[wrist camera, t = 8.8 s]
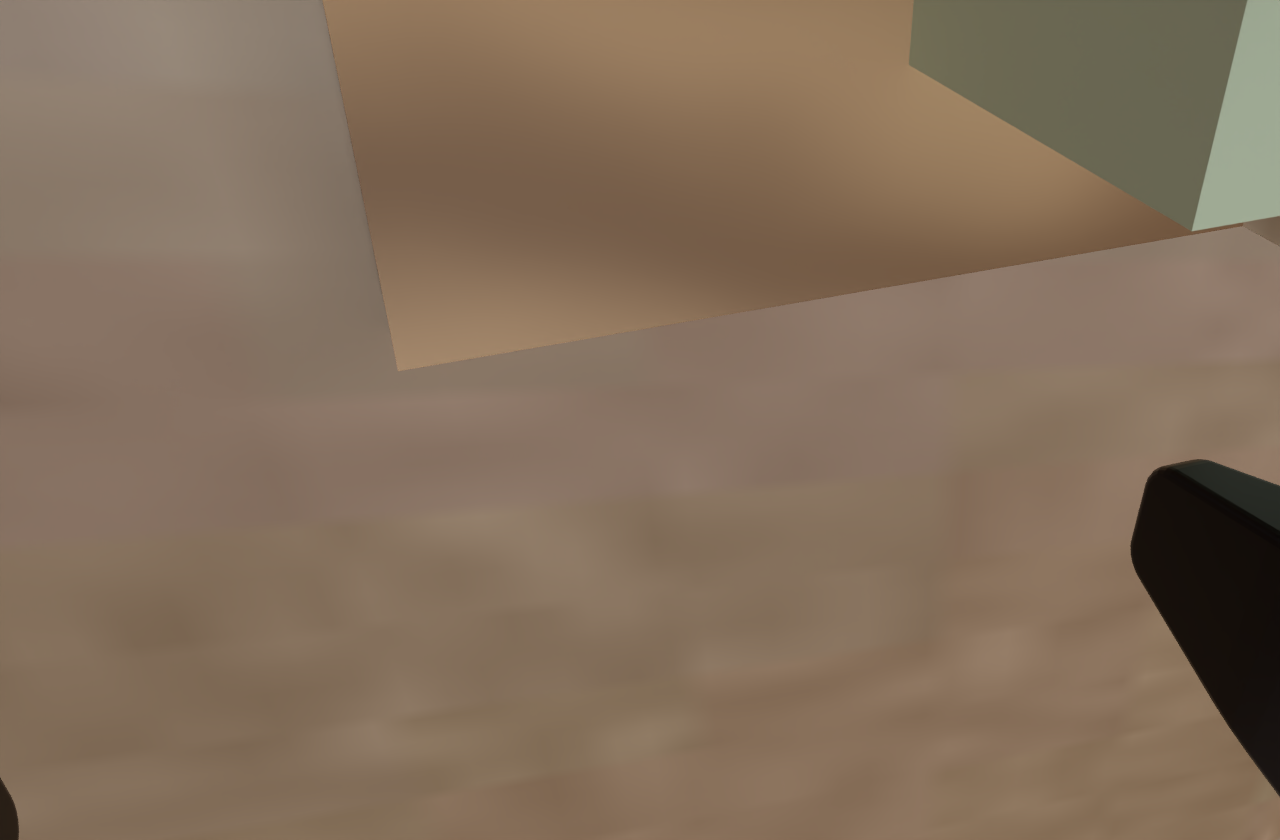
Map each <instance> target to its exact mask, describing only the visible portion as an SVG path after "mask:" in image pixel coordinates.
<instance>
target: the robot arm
mask: <svg viewBox="0 0 1280 840" xmlns="http://www.w3.org/2000/svg"><path fill="white" fill-rule="evenodd" d="M1131 558H1132V563H1133V565H1134V568H1135V571H1136V573H1137V575H1138V577H1139V579H1140V580H1141V582H1142V584H1143V585H1144V587H1145V589H1146V590H1147V592H1148V594H1149V595H1150V597H1151V599H1152V601H1153V602H1154V604H1155V606H1156V607H1157V609H1158V611H1159V612H1160V614H1161V616H1162V617H1163V619H1164V621H1165V622H1166V624H1167V626H1168V627H1169V629H1170V631H1171V632H1172V634H1173V636H1174V637H1175V639H1176V641H1177V642H1178V644H1179V646H1180V647H1181V649H1182V651H1183V652H1184V654H1185V656H1186V657H1187V659H1188V661H1189V662H1190V664H1191V666H1192V667H1193V669H1194V671H1195V672H1196V674H1197V676H1198V677H1199V679H1200V681H1201V683H1202V684H1203V686H1204V688H1205V689H1206V691H1207V693H1208V694H1209V696H1210V698H1211V699H1212V701H1213V703H1214V704H1215V706H1216V707H1217V709H1218V710H1219V712H1220V714H1221V715H1222V717H1223V718H1224V720H1225V721H1226V723H1227V725H1228V726H1229V728H1230V729H1231V731H1232V732H1233V733H1234V735H1235V736H1236V738H1237V739H1238V740H1239V742H1240V743H1241V745H1242V746H1243V748H1244V749H1245V750H1246V752H1247V753H1248V755H1249V756H1250V757H1251V759H1252V760H1253V761H1254V763H1255V764H1256V765H1257V767H1258V768H1259V770H1260V771H1261V772H1262V774H1263V775H1264V776H1265V778H1266V779H1267V780H1268V782H1269V783H1270V784H1271V786H1272V787H1273V788H1274V790H1275V791H1276V792H1277V794H1278V795H1279V797H1280V486H1279V485H1276V484H1273V483H1270V482H1268V481H1265V480H1262V479H1259V478H1257V477H1254V476H1251V475H1248V474H1245V473H1243V472H1240V471H1237V470H1234V469H1232V468H1229V467H1226V466H1223V465H1220V464H1218V463H1215V462H1212V461H1209V460H1203V459H1196V460H1190V461H1185V462H1180V463H1176V464H1171V465H1166V466H1162V467H1159V468H1158V469H1156V470H1154V471H1153V473H1152V474H1151V475H1150V476H1149V478H1148V479H1147V482H1146V485H1145V489H1144V493H1143V497H1142V501H1141V504H1140V508H1139V512H1138V516H1137V520H1136V524H1135V528H1134V532H1133V536H1132V540H1131ZM18 839H19V826H18V817H17V811H16V808H15V805H14V802H13V800H12V797H11V795H10V794H9V792H8V790H7V788H6V787H5V785H4V783H3V781H2V780H1V778H0V840H18Z"/></svg>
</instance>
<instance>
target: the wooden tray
mask: <svg viewBox="0 0 1280 840" xmlns="http://www.w3.org/2000/svg"><path fill="white" fill-rule="evenodd" d="M913 4H914V0H323V5H324V10H325V15H326V20H327V25H328V30H329V34H330V39H331V44H332V49H333V54H334V59H335V64H336V69H337V74H338V79H339V83H340V88H341V93H342V98H343V103H344V108H345V113H346V118H347V123H348V128H349V132H350V137H351V142H352V147H353V152H354V157H355V162H356V167H357V172H358V177H359V182H360V186H361V191H362V196H363V201H364V206H365V211H366V216H367V221H368V226H369V231H370V235H371V240H372V245H373V250H374V255H375V260H376V265H377V270H378V275H379V280H380V284H381V289H382V294H383V299H384V304H385V309H386V314H387V319H388V324H389V329H390V334H391V338H392V343H393V348H394V353H395V358H396V363H397V368H398V371H403V370H408V369H414V368H420V367H426V366H432V365H437V364H443V363H449V362H455V361H461V360H466V359H472V358H478V357H484V356H490V355H496V354H501V353H507V352H513V351H519V350H525V349H530V348H536V347H542V346H548V345H554V344H560V343H565V342H571V341H577V340H583V339H589V338H594V337H600V336H606V335H612V334H618V333H623V332H629V331H635V330H641V329H647V328H653V327H658V326H664V325H670V324H676V323H682V322H687V321H693V320H699V319H705V318H711V317H716V316H722V315H728V314H734V313H740V312H746V311H751V310H757V309H763V308H769V307H775V306H780V305H786V304H792V303H798V302H804V301H810V300H815V299H821V298H827V297H833V296H839V295H844V294H850V293H856V292H862V291H868V290H873V289H879V288H885V287H891V286H897V285H903V284H908V283H914V282H920V281H926V280H932V279H937V278H943V277H949V276H955V275H961V274H966V273H972V272H978V271H984V270H990V269H996V268H1001V267H1007V266H1013V265H1019V264H1025V263H1030V262H1036V261H1042V260H1048V259H1054V258H1060V257H1065V256H1071V255H1077V254H1083V253H1089V252H1094V251H1100V250H1106V249H1112V248H1118V247H1123V246H1129V245H1135V244H1141V243H1147V242H1153V241H1158V240H1164V239H1170V238H1176V237H1182V236H1187V235H1193V234H1199V233H1205V232H1211V231H1217V230H1222V229H1228V228H1234V227H1240V226H1244V227H1245V228H1247V229H1249V230H1251V231H1253V232H1254V233H1256V234H1258V235H1260V236H1262V237H1263V238H1265V239H1267V240H1269V241H1271V242H1273V243H1274V244H1276V245H1278V246H1280V216H1276V217H1270V218H1265V219H1259V220H1253V221H1248V222H1242V223H1236V224H1231V225H1225V226H1219V227H1213V228H1208V229H1202V230H1196V231H1190V230H1189V229H1187V228H1185V227H1184V226H1182V225H1180V224H1178V223H1177V222H1175V221H1173V220H1172V219H1170V218H1168V217H1167V216H1165V215H1163V214H1161V213H1160V212H1158V211H1156V210H1155V209H1153V208H1151V207H1150V206H1148V205H1146V204H1144V203H1143V202H1141V201H1139V200H1138V199H1136V198H1134V197H1133V196H1131V195H1129V194H1127V193H1126V192H1124V191H1122V190H1121V189H1119V188H1117V187H1116V186H1114V185H1112V184H1110V183H1109V182H1107V181H1105V180H1104V179H1102V178H1100V177H1099V176H1097V175H1095V174H1093V173H1092V172H1090V171H1088V170H1087V169H1085V168H1083V167H1082V166H1080V165H1078V164H1076V163H1075V162H1073V161H1071V160H1070V159H1068V158H1066V157H1065V156H1063V155H1061V154H1059V153H1058V152H1056V151H1054V150H1053V149H1051V148H1049V147H1048V146H1046V145H1044V144H1042V143H1041V142H1039V141H1037V140H1036V139H1034V138H1032V137H1031V136H1029V135H1027V134H1025V133H1024V132H1022V131H1020V130H1019V129H1017V128H1015V127H1014V126H1012V125H1010V124H1008V123H1007V122H1005V121H1003V120H1002V119H1000V118H998V117H997V116H995V115H993V114H991V113H990V112H988V111H986V110H985V109H983V108H981V107H980V106H978V105H976V104H974V103H973V102H971V101H969V100H968V99H966V98H964V97H963V96H961V95H959V94H957V93H956V92H954V91H952V90H951V89H949V88H947V87H946V86H944V85H942V84H940V83H939V82H937V81H935V80H934V79H932V78H930V77H929V76H927V75H925V74H923V73H922V72H920V71H918V70H917V69H915V68H913V67H912V66H910V65H909V54H910V42H911V29H912V16H913Z"/></svg>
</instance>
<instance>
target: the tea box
mask: <svg viewBox="0 0 1280 840" xmlns="http://www.w3.org/2000/svg"><path fill="white" fill-rule="evenodd" d="M909 65H910V66H912V67H913V68H915V69H917V70H918V71H920V72H922V73H923V74H925V75H927V76H929V77H930V78H932V79H934V80H935V81H937V82H939V83H940V84H942V85H944V86H946V87H947V88H949V89H951V90H952V91H954V92H956V93H957V94H959V95H961V96H963V97H964V98H966V99H968V100H969V101H971V102H973V103H974V104H976V105H978V106H980V107H981V108H983V109H985V110H986V111H988V112H990V113H991V114H993V115H995V116H997V117H998V118H1000V119H1002V120H1003V121H1005V122H1007V123H1008V124H1010V125H1012V126H1014V127H1015V128H1017V129H1019V130H1020V131H1022V132H1024V133H1025V134H1027V135H1029V136H1031V137H1032V138H1034V139H1036V140H1037V141H1039V142H1041V143H1042V144H1044V145H1046V146H1048V147H1049V148H1051V149H1053V150H1054V151H1056V152H1058V153H1059V154H1061V155H1063V156H1065V157H1066V158H1068V159H1070V160H1071V161H1073V162H1075V163H1076V164H1078V165H1080V166H1082V167H1083V168H1085V169H1087V170H1088V171H1090V172H1092V173H1093V174H1095V175H1097V176H1099V177H1100V178H1102V179H1104V180H1105V181H1107V182H1109V183H1110V184H1112V185H1114V186H1116V187H1117V188H1119V189H1121V190H1122V191H1124V192H1126V193H1127V194H1129V195H1131V196H1133V197H1134V198H1136V199H1138V200H1139V201H1141V202H1143V203H1144V204H1146V205H1148V206H1150V207H1151V208H1153V209H1155V210H1156V211H1158V212H1160V213H1161V214H1163V215H1165V216H1167V217H1168V218H1170V219H1172V220H1173V221H1175V222H1177V223H1178V224H1180V225H1182V226H1184V227H1185V228H1187V229H1189V230H1190V231H1196V230H1202V229H1208V228H1213V227H1219V226H1225V225H1231V224H1236V223H1242V222H1248V221H1253V220H1259V219H1265V218H1270V217H1276V216H1280V0H914V4H913V16H912V29H911V42H910V54H909Z"/></svg>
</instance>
